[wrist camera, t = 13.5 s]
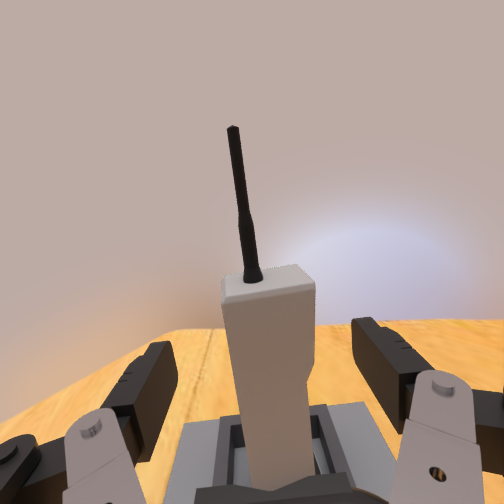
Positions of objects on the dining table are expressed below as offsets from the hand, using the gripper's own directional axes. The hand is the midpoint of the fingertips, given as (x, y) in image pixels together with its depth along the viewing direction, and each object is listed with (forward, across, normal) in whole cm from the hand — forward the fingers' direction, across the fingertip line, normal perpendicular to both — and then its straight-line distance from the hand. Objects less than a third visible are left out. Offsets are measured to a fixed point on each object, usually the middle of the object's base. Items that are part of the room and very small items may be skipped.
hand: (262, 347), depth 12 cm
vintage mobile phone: (+4, 0, +15) cm, 16 cm away
